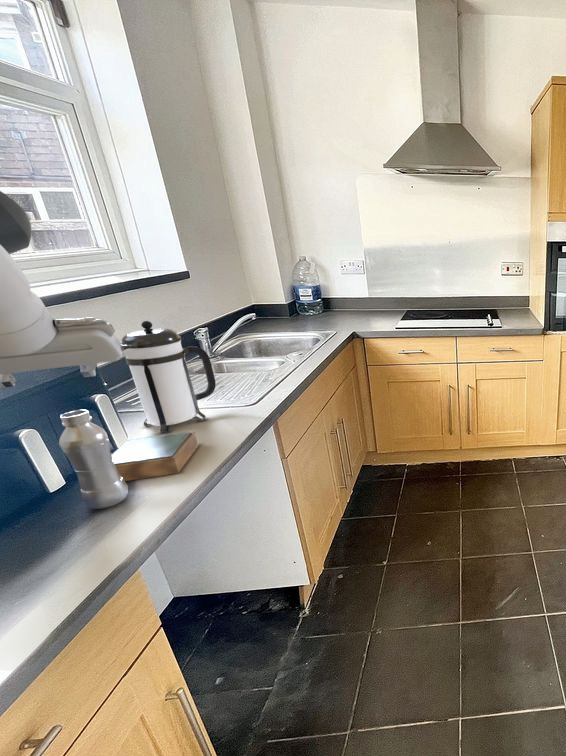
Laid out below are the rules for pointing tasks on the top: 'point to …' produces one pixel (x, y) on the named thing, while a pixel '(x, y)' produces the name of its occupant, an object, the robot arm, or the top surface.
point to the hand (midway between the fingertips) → (50, 378)
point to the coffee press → (164, 375)
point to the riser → (154, 455)
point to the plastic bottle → (92, 460)
